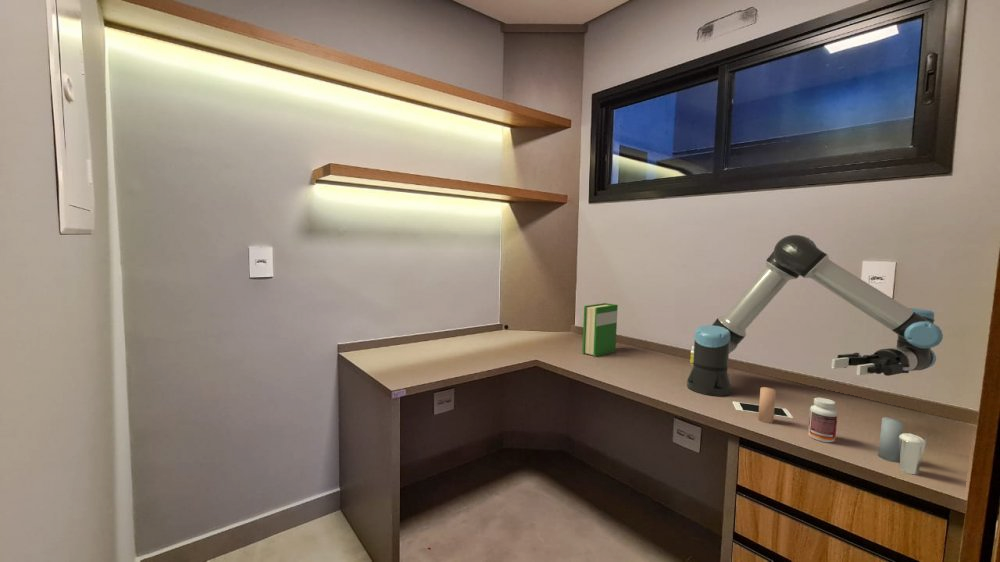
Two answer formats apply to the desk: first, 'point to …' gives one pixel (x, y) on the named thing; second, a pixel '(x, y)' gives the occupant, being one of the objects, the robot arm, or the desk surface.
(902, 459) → the milkshake
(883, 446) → the slate post
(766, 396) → the terracotta post
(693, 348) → the supplement bottle
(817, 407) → the pill bottle
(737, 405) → the cell phone
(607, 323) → the hardback book
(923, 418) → the desk surface
